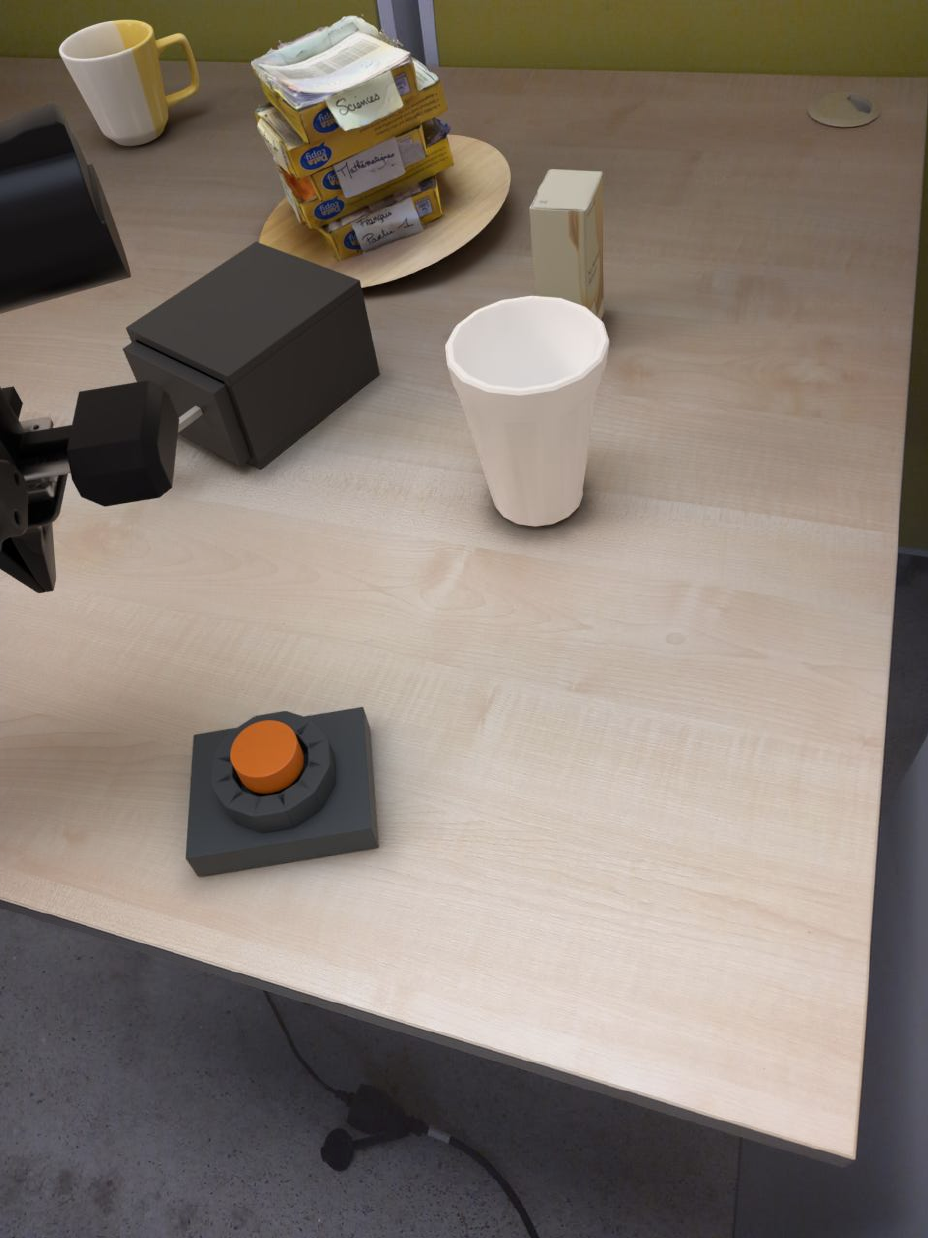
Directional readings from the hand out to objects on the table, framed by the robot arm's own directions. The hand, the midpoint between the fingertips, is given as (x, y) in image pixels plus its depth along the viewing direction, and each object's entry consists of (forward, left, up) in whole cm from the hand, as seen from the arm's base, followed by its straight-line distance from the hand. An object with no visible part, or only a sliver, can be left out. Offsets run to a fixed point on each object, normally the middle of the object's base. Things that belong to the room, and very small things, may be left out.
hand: (48, 586), depth 54 cm
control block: (+10, -8, -12) cm, 18 cm away
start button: (+10, -8, -8) cm, 15 cm away
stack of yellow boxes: (+20, +54, -12) cm, 59 cm away
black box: (+9, +30, -12) cm, 34 cm away
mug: (-5, +84, -12) cm, 85 cm away
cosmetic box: (+34, +32, -12) cm, 48 cm away
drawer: (+6, +27, -11) cm, 30 cm away
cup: (+28, +13, -12) cm, 33 cm away
